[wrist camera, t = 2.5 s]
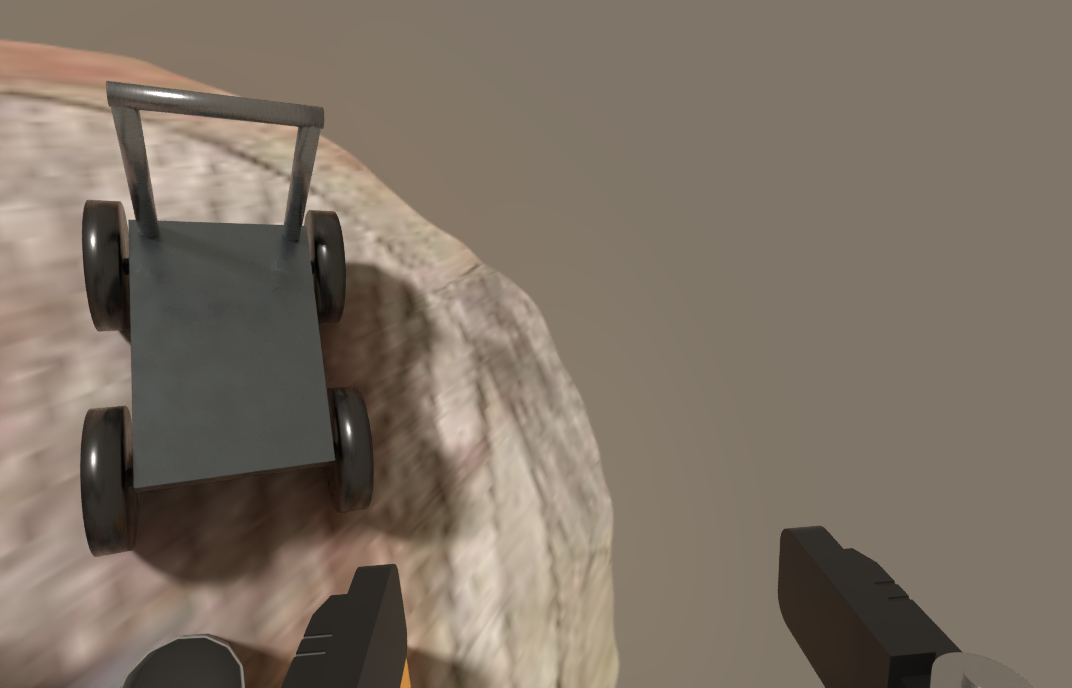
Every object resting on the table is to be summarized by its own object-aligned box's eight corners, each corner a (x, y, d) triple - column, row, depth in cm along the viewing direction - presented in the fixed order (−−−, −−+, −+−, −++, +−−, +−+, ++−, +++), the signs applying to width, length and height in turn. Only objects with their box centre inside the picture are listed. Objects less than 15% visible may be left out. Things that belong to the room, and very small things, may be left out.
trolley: (355, 517, 64) (434, 453, 40) (106, 562, 54) (12, 514, 30) (320, 247, 74) (366, 67, 50) (104, 242, 64) (33, 15, 40)
